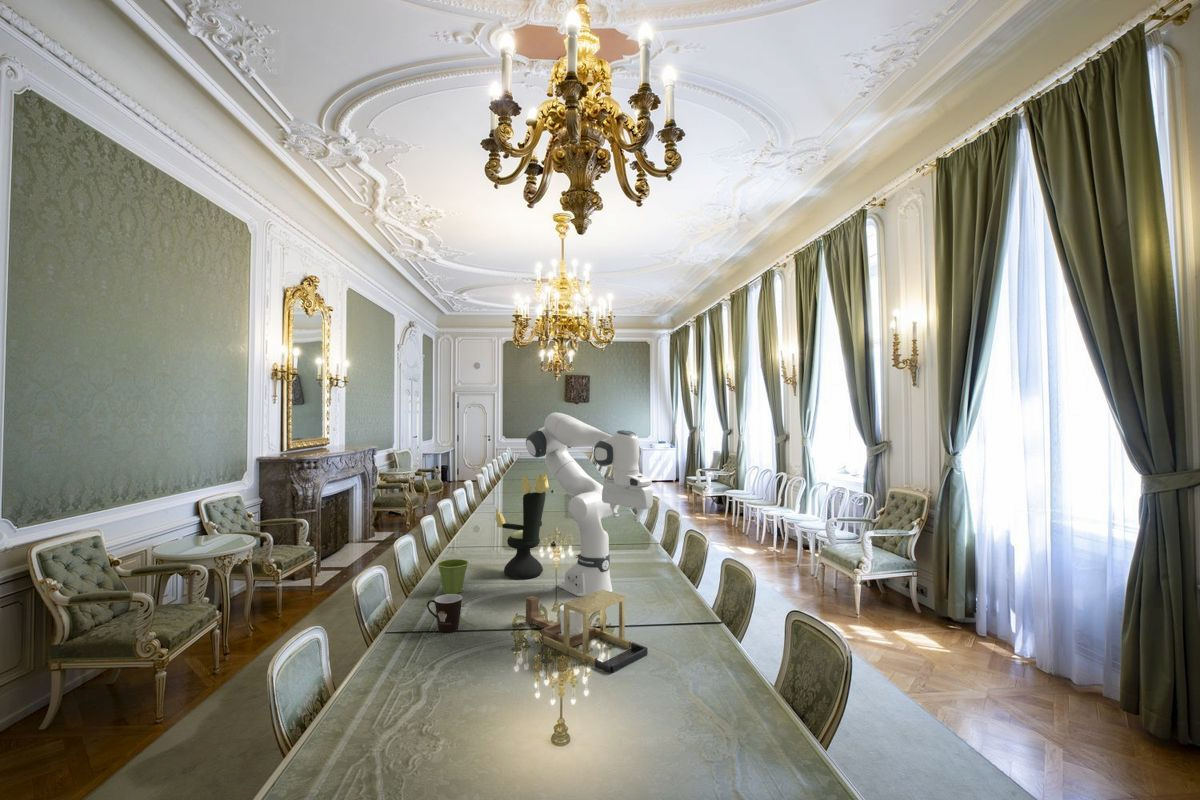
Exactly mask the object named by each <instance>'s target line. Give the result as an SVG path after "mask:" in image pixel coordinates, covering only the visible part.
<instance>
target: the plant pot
mask: <svg viewBox="0 0 1200 800" xmlns="http://www.w3.org/2000/svg"><path fill="white" fill-rule="evenodd" d="M468 564H469V561H468V560H465V559H462V558H460V559H459V558H454V559H453V558H451V559H446V560H441V561H439V562H437V564H436V565H437V567H438V570H439V573H440V581H441V588H442V593H443V594H459V593H462V592H463V587H464V582H465V575H466V570H467V568H468Z"/></svg>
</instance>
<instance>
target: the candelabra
mask: <svg viewBox="0 0 1200 800" xmlns="http://www.w3.org/2000/svg"><path fill="white" fill-rule="evenodd" d="M534 481H535V482H534V483H535V486H534V490H535V492H531V491H532V486H531V484H530V481H529V480H528V478H527V475H526V473H525V472H524V474H523V477H522V480H521V487H522V488H521V490H522V493H524V494H523V497H522V508H523V509H522V519H523V520H522V521H523V522H522V524H517V523H509V522H506V519H505V517H504V515H503V514H502V513H501V512H500V511H499V510H498V509H497V508H495V522H496V524H497V525H496V527H497V528H503V529H507V530H514V532H513V533H512V534H510V536H508V538H507V540H506V542H507V545H508V547H510V548H512V549H514V550H516V554H515V555H514V557H512V558H511V559H510V560H509V561H508V562H507V563H506V564H505V566H504V568H503V574H504V575H506V576H507V577H508V578H512V579H521V580H522V579H532V578H536V577H538V576H540V575H541V574H542V573H543V571H544V568H543V566H542V563H541V562H540V561H539V560H538V559H537V558H535V557H534V556H533V555H532V553H531V549H535V548H537V547H538V546H539V545H540V543H541V539H540V530H541V529H540V528H541V527H542V526H543V522H542V518H543V513H544V507H545V501H546V493H547V491H548V490H549V481H548V477H547V472H546V471H545V472H544V473H543V474H541V472H540V471H539V472H538V473H537V476H536V479H535V480H534ZM515 530H516V531H515Z"/></svg>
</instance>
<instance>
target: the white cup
mask: <svg viewBox="0 0 1200 800" xmlns="http://www.w3.org/2000/svg"><path fill="white" fill-rule="evenodd" d="M559 619H560V623H561V633H560V636H563V637H564V603H563V604H562V605H560V607H559ZM581 633H583V614H580V613H578V612H575V611H572V610H570V636H569V638H571V637H573V636H576V635H578V634H581Z"/></svg>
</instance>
